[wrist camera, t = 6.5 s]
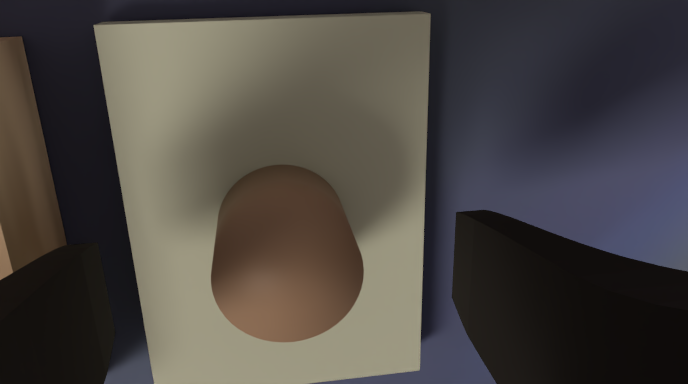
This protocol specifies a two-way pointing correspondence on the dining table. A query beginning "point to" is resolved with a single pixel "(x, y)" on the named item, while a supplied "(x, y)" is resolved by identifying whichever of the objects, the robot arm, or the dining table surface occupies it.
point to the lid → (273, 191)
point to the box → (23, 168)
